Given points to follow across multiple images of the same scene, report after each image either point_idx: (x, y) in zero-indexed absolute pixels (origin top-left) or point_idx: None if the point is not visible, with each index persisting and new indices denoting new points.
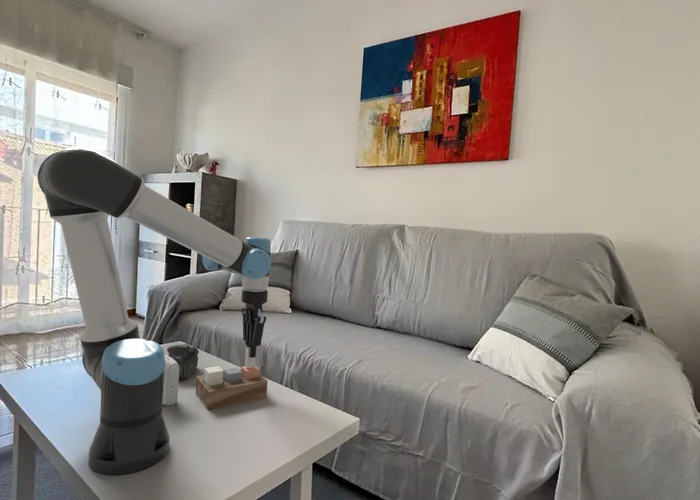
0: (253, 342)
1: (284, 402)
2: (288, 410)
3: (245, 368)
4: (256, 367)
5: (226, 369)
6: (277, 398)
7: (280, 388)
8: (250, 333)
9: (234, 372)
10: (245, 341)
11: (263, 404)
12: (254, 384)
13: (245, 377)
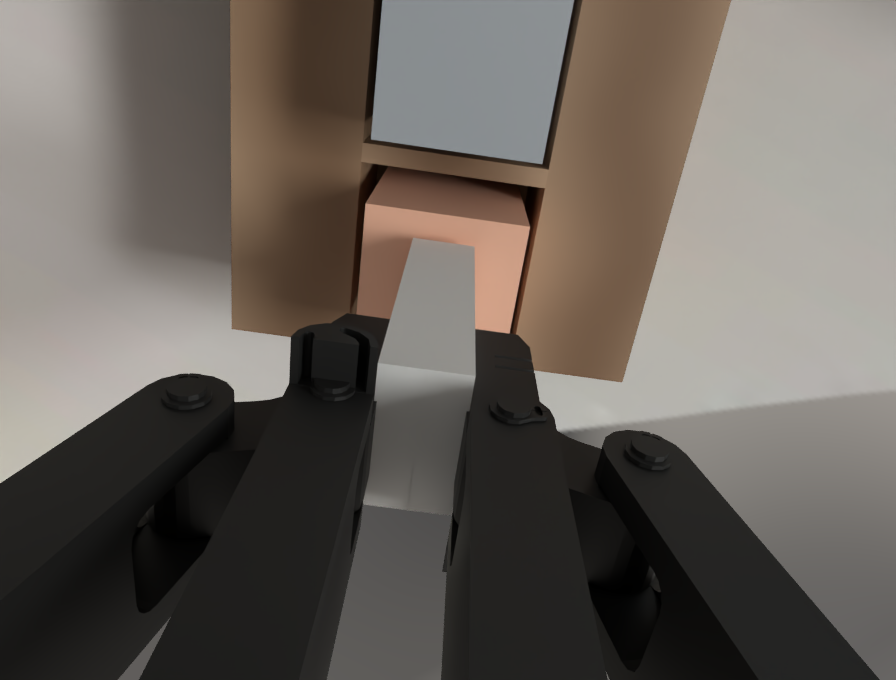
0: (92, 426)
1: (140, 331)
2: (9, 284)
3: (453, 238)
4: None
5: (558, 11)
6: (223, 328)
7: None
8: (242, 574)
9: (403, 52)
10: (550, 424)
11: (174, 189)
12: (233, 193)
13: (393, 187)
